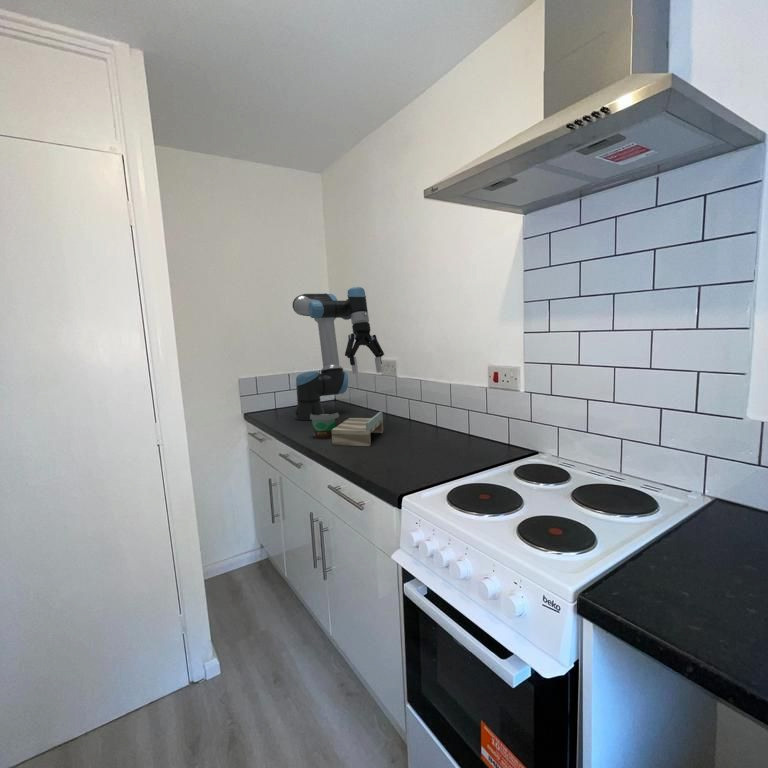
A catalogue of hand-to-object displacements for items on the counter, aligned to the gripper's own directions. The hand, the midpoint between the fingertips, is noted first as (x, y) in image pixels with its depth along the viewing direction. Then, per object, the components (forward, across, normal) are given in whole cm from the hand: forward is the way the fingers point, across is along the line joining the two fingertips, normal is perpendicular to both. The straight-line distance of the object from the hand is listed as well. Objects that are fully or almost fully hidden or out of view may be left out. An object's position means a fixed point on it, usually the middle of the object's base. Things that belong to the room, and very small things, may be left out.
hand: (367, 372), depth 176 cm
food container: (+24, -15, +16) cm, 33 cm away
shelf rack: (+26, -7, +4) cm, 28 cm away
